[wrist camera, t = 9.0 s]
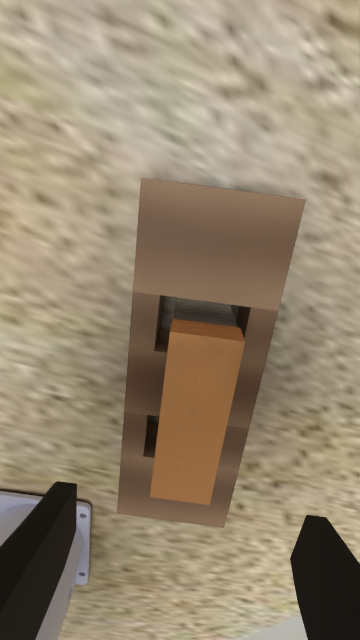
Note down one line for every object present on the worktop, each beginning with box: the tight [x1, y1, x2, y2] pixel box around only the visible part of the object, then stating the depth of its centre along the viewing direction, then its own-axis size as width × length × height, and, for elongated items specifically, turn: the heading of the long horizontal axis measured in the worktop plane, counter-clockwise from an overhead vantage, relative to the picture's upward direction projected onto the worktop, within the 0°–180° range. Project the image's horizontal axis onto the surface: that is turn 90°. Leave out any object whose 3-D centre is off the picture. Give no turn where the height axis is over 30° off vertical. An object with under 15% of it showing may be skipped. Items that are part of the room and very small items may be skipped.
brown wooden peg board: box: [117, 178, 306, 528], centre depth 18 cm, size 20×7×3 cm, turn 173°
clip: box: [150, 297, 245, 505], centre depth 17 cm, size 9×3×6 cm, turn 173°
